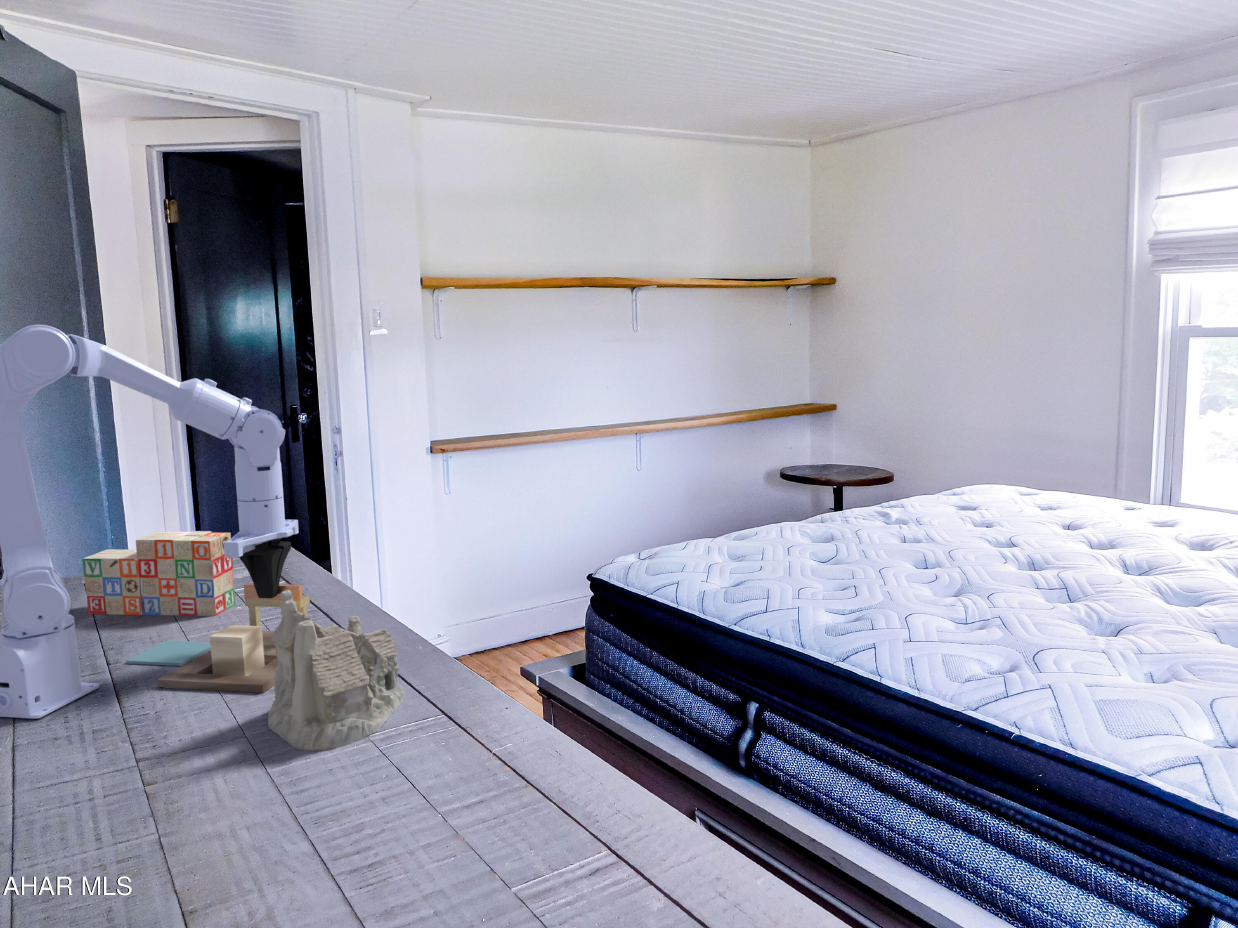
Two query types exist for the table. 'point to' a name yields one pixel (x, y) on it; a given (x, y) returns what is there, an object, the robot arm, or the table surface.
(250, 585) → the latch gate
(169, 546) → the stack of blocks
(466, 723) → the table surface
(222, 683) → the puzzle board
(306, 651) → the ceramic cottage
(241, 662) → the birch block
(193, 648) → the teal square plate
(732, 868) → the table surface
